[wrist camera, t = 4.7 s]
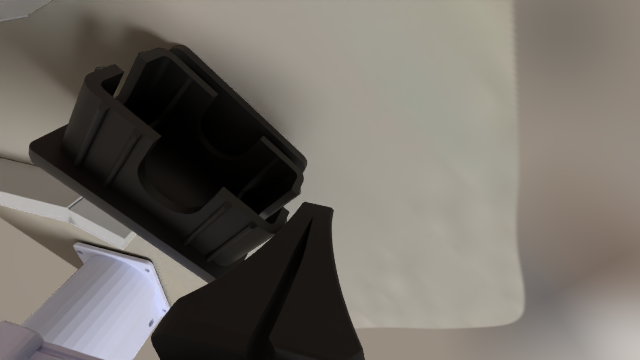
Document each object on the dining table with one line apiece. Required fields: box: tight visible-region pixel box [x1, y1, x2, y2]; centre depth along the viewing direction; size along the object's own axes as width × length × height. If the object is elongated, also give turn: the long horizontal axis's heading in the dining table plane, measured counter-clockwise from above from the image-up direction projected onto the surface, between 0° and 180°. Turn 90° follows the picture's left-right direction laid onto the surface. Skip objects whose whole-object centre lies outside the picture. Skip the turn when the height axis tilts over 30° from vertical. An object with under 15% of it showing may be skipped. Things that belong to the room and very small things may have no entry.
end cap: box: [29, 45, 307, 283], centre depth 15 cm, size 10×7×7 cm
